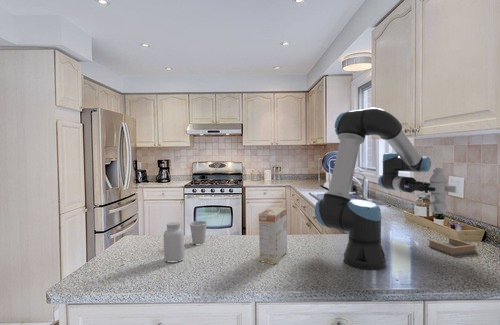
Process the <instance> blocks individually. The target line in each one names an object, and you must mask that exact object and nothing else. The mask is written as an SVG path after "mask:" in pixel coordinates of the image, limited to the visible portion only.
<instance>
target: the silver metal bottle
mask: <svg viewBox="0 0 500 325" xmlns="http://www.w3.org/2000/svg"><path fill="white" fill-rule="evenodd" d="M432 172H433V174H432V175H431V176H430V178H429V183H430V186H438V187H444V194H441V193H434V192H430V200H429V206H428V208H429V211H430V212H431V213H434V214H439V215H442V214H446V212H447V210H448V206H447V200H446V198H447V196H446V185H447V183H448V179H447V177H446V176H445V175H444V168H443V167H433V168H432Z"/></svg>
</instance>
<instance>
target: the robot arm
mask: <svg viewBox="0 0 500 325" xmlns="http://www.w3.org/2000/svg"><path fill="white" fill-rule="evenodd" d="M334 131H335V134H336V136H337V139H338V140H339V143H338V144H339V145H338V148H337V154H336V158H335V161H334V166H333V170H332V175H331V179H330V183H329V188H328V191H326V192H325V193H324V194H323V198H320V199H318V200H317V201H316V203H315V206H314V215H315V219H316V221H317V223H318V224H319V225H321V226H324V227H327V228H329V229H335V230H338V231H343V232H348V240H347V244H346V248H345V250H344V254H343V261H344V262H345V263H346V264H348V265H349V266H351V267H354V268H358V269H363V270H381V269H384V268H385V267H386V266H387V257H386V255H385V251H384V249H383V246H382V212H381V208H380V206H379V205H378V204H377V203H374V202H372V201H368V200H361V199H352V198H351V197H350V192H351V189H352V188H351V187H352V182H353V178H354V173H355V168H356V165H357V164H356V163H357V159H358V154H359V150H360V145H362V144H363V143H364V142H365V139H366V136H378V137H379V138H380V139H382V140H385V141H386V142H387V143H388V144H389V146H390V148H392V149H393V150H394V152H386V153H383V155H382V160H381V162H382V174H381V175H380V176H379V177H378V179H377V180H378V181H377V183H378V185H379V187H380V188H382V189H385V190H391V191H392V190H393V191H398V192H399V193H402V192H405V193H410V194H411V193H414V192H415V191H417V192H421V193H422V192H424V194H428V193H431V192H434V193H441V194H444V187H438V186H430V182H427V181H426V182H424V181H417V179H415V178H414V177H411V176H402V175H399V174H400V172H414V173H428V172H429V171H430V170H431V168H432V161H431V158H430V157H429V156H424V155H423V156H422V155H421V154H420V153H419V151H418V150H417V149H416V147H415V146H414V145H413V143H412V142H411V141H410V139H409V138H408V136H407V135H406V133H405V132H404V131H403V125H402V123H401V122H400V121H399V120H398V118H397V117H395V116H394V115H393V114H391V113H390V112H388V111H387V110H384V109H382V108H378V107H369V108H364V109H357V110H348V111H345V112H341V113H340V114H339V115H338V116H337V117H336V119H335V123H334ZM446 192H447V193H454V194H456V193H457V185H446ZM446 192H445V193H446Z"/></svg>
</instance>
